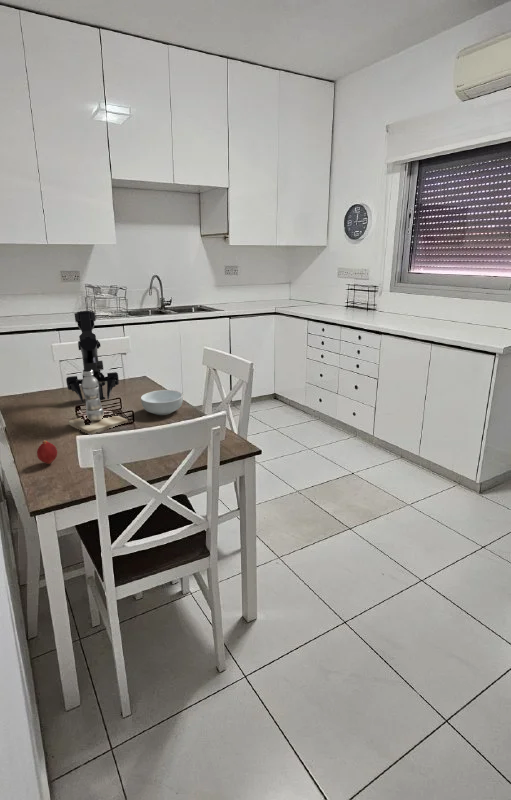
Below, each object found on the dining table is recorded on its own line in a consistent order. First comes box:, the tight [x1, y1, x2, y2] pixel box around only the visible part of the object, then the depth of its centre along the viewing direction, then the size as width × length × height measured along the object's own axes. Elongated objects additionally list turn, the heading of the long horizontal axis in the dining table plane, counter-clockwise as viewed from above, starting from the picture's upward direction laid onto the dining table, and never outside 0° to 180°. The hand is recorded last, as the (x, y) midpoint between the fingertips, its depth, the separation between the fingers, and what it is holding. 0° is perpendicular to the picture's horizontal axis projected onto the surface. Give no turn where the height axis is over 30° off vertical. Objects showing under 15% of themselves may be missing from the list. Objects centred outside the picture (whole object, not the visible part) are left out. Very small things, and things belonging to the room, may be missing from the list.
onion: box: [36, 440, 58, 465], centre depth 145 cm, size 6×6×8 cm
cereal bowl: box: [140, 389, 184, 416], centre depth 191 cm, size 17×17×7 cm
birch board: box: [68, 415, 129, 435], centre depth 179 cm, size 16×16×2 cm
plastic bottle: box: [80, 369, 104, 421], centre depth 176 cm, size 6×7×20 cm
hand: (95, 400), depth 175 cm, fingers open, 9 cm apart
